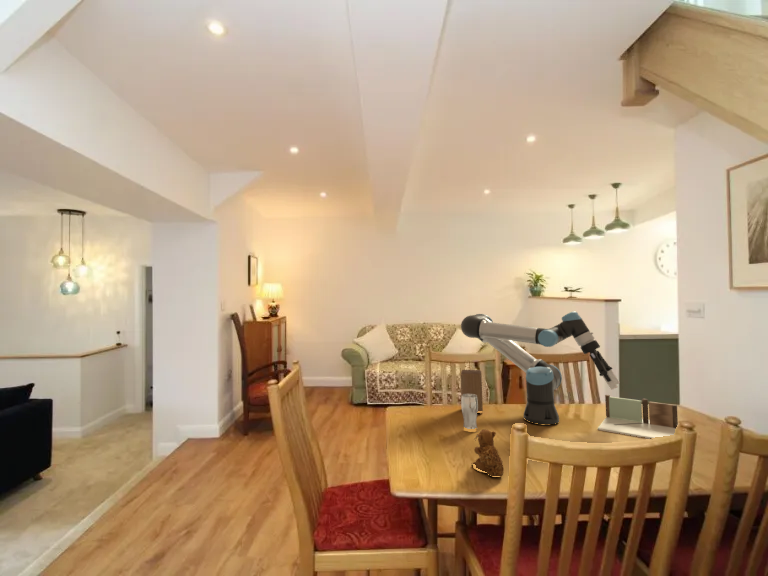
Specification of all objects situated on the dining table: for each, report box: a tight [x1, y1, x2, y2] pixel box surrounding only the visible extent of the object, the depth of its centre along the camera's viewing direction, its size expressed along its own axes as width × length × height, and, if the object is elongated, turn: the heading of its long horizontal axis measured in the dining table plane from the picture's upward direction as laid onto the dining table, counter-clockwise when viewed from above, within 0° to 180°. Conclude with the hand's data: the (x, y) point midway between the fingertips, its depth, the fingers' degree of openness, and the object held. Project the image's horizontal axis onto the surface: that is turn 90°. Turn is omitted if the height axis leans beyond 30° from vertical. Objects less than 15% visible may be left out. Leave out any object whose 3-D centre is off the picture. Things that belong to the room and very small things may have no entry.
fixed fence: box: [641, 398, 679, 428], centre depth 165 cm, size 12×2×11 cm, turn 50°
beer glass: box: [460, 394, 478, 429], centre depth 169 cm, size 7×7×15 cm
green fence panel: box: [604, 394, 643, 422], centre depth 174 cm, size 14×2×10 cm, turn 50°
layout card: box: [597, 416, 676, 440], centre depth 165 cm, size 27×24×1 cm
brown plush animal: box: [472, 429, 505, 477], centre depth 129 cm, size 10×14×13 cm
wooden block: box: [460, 369, 484, 411], centre depth 195 cm, size 10×10×20 cm
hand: (615, 386), depth 171 cm, fingers open, 13 cm apart
